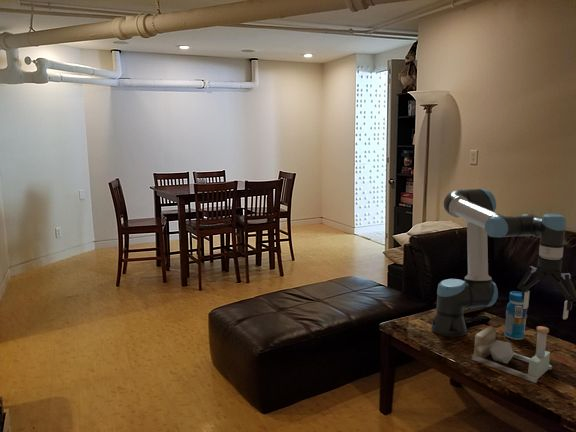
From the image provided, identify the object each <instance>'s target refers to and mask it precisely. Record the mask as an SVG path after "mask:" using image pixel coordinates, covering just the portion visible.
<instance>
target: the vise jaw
mask: <svg viewBox="0 0 576 432" xmlns="http://www.w3.org/2000/svg"><path fill="white" fill-rule="evenodd" d="M536 332H537V338H536V346H535V347H536V348H535V355H533V356H532V357H531V359H530V360H529V363H528V369H527V370H528V371H527V375H530V376H533V377H536V378H538V379H539V378H541V376H543V375H544V374H545V373H546V372H547V371H549V370H548V369H549V365H550V359H551V352H550V351H547V350H546V347H547V346H546V345H547V338H548V337H547V336H548V333H549V332H550V328H548V327H546V326H542V325H541V326H540V325H539V326H536Z"/></svg>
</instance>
